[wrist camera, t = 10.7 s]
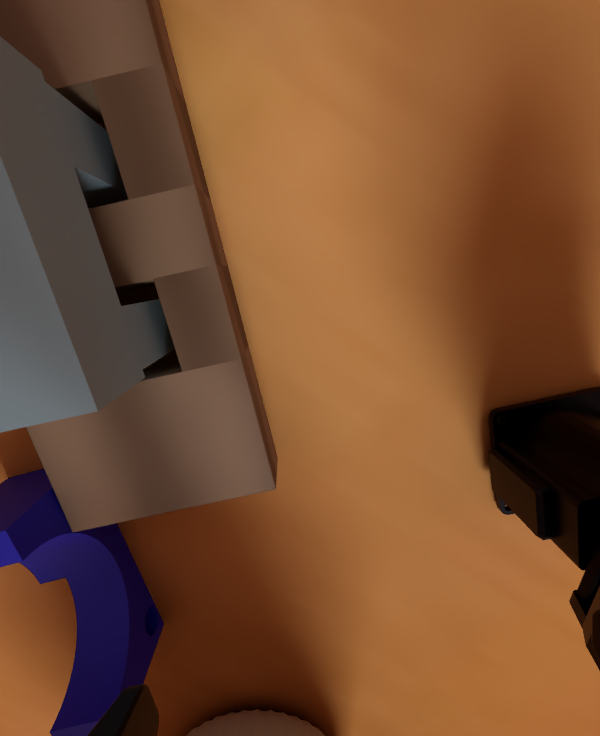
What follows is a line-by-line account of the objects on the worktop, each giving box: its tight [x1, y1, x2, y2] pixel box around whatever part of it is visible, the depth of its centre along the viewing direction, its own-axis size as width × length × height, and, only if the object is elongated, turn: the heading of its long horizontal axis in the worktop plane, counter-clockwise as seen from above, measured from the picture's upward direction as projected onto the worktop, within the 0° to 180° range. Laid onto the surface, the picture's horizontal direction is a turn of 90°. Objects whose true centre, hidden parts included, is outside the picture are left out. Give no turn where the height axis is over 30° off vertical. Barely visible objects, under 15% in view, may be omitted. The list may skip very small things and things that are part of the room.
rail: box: [0, 0, 277, 532], centre depth 16 cm, size 10×24×3 cm, turn 12°
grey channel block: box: [0, 36, 175, 433], centre depth 13 cm, size 3×10×8 cm, turn 12°
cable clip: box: [0, 469, 164, 736], centre depth 19 cm, size 12×4×6 cm, turn 15°
